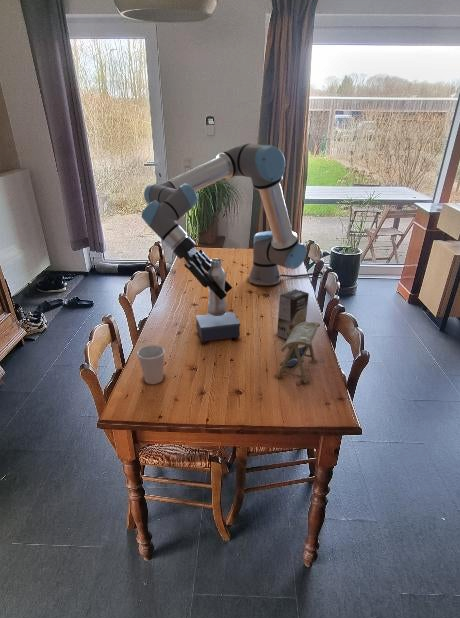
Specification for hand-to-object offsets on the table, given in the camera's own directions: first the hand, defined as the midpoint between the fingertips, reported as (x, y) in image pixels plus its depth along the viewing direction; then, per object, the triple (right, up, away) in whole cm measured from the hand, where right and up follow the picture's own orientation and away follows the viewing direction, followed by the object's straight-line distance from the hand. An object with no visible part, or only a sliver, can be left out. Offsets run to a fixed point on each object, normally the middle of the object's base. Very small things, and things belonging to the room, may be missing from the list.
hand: (226, 293), depth 151 cm
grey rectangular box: (-3, -14, +10) cm, 18 cm away
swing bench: (+23, -27, -9) cm, 37 cm away
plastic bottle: (-4, -7, +5) cm, 9 cm away
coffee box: (+24, -13, +12) cm, 30 cm away
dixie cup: (-23, -30, -14) cm, 40 cm away
